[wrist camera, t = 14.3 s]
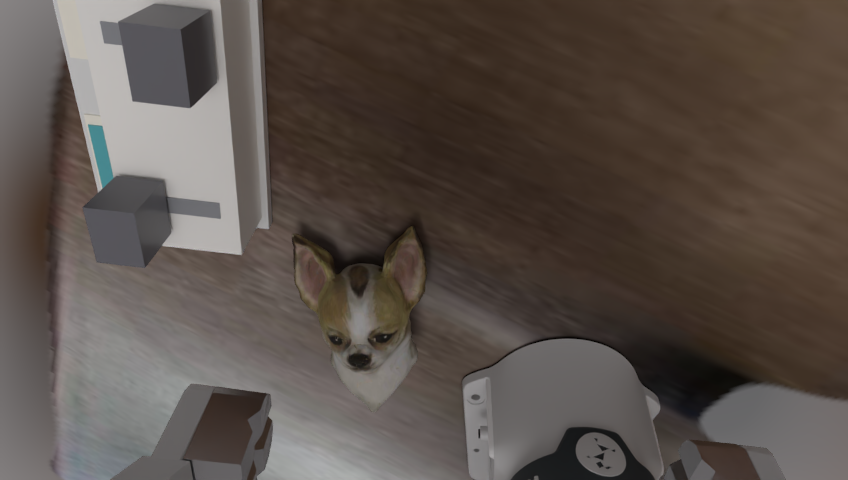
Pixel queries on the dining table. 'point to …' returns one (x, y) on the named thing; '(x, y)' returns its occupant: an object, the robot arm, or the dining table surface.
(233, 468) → the robot arm
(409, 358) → the ceramic sculpture
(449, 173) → the dining table surface
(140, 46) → the slider middle
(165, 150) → the switch unit
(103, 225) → the slider
